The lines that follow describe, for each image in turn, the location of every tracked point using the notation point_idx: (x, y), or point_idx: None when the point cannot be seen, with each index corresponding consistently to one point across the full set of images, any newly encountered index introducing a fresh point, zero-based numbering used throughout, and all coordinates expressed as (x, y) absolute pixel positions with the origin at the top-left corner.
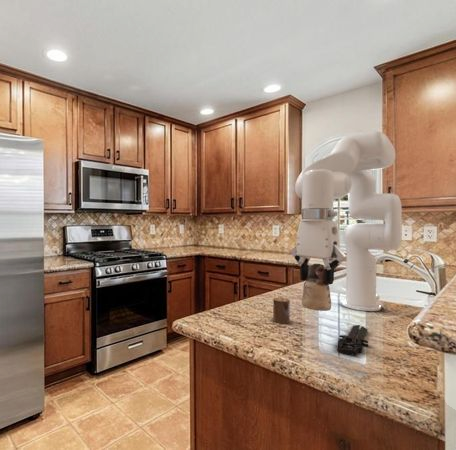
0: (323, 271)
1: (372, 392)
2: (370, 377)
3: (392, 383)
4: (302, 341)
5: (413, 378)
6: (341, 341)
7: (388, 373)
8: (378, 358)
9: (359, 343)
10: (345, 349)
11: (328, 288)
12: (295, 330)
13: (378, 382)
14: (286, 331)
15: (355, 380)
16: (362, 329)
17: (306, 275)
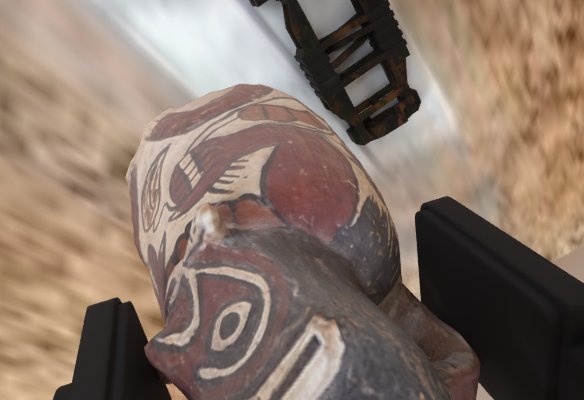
0: (471, 386)
1: (547, 252)
2: (511, 192)
3: (556, 161)
4: None
5: (578, 64)
6: (326, 76)
7: (527, 112)
8: (455, 23)
9: (374, 4)
10: (388, 132)
11: (388, 211)
12: (48, 135)
13: (535, 195)
14: (58, 197)
15: None
16: None
17: (151, 397)
